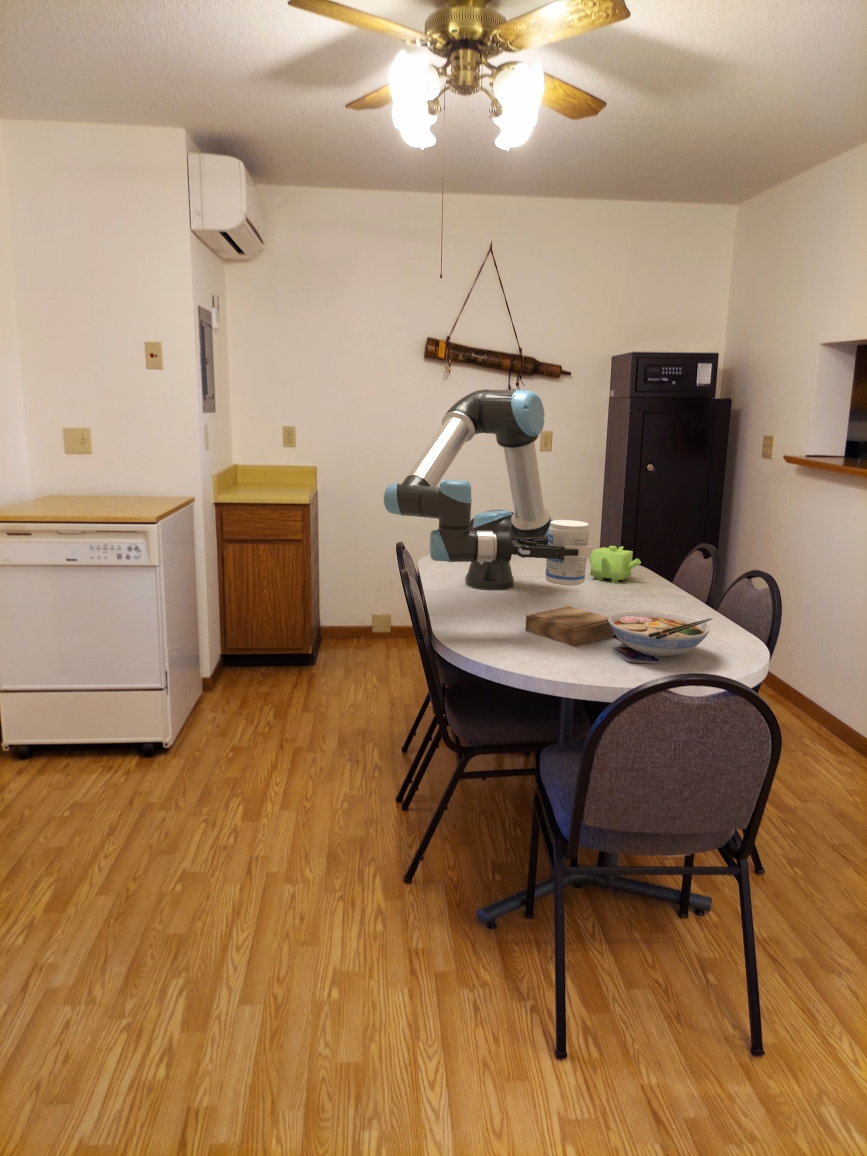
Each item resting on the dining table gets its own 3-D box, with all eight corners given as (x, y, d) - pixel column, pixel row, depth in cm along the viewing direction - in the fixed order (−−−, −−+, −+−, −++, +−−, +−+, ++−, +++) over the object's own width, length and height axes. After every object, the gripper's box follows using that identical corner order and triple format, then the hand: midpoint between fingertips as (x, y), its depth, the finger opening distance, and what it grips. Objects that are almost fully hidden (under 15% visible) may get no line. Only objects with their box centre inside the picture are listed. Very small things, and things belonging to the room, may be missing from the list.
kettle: (580, 575, 261) (583, 542, 259) (619, 574, 264) (621, 542, 262) (599, 585, 247) (602, 550, 244) (640, 584, 250) (643, 550, 248)
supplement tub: (537, 580, 190) (540, 521, 186) (561, 576, 196) (565, 518, 193) (568, 588, 183) (573, 526, 179) (593, 583, 189) (597, 523, 186)
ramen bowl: (644, 632, 196) (647, 601, 194) (728, 655, 179) (733, 621, 177) (582, 650, 179) (584, 616, 178) (668, 677, 163) (672, 640, 161)
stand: (525, 630, 194) (526, 613, 193) (567, 620, 204) (568, 604, 203) (574, 646, 182) (576, 628, 181) (616, 635, 192) (618, 618, 191)
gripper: (487, 553, 198) (573, 554, 199) (500, 571, 176) (596, 572, 178) (488, 524, 196) (575, 525, 198) (501, 539, 174) (599, 540, 176)
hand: (585, 548), depth 188 cm, fingers closed on supplement tub, 9 cm apart
